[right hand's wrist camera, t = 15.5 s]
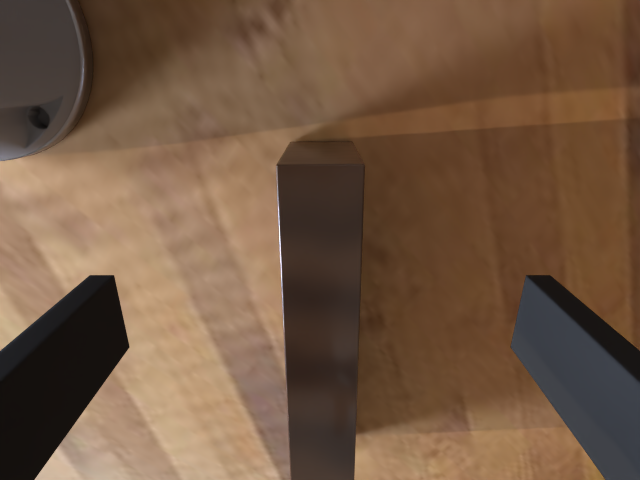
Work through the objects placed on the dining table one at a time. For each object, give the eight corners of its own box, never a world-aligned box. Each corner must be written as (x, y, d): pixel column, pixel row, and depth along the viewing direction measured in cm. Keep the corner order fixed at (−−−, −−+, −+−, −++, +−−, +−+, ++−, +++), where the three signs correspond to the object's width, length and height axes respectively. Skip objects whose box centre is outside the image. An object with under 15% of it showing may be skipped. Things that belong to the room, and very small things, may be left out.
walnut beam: (346, 437, 38) (352, 535, 30) (299, 437, 38) (292, 534, 30) (352, 141, 28) (365, 164, 20) (289, 141, 28) (275, 164, 20)
